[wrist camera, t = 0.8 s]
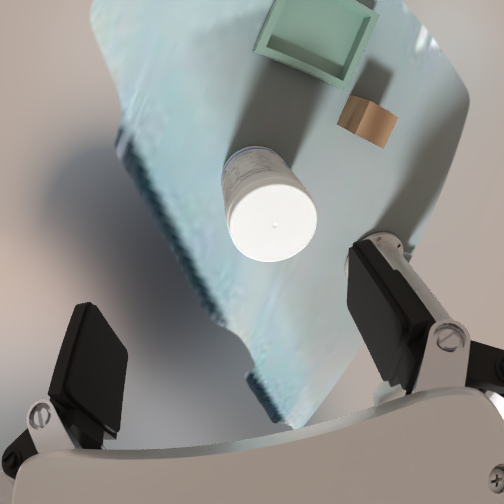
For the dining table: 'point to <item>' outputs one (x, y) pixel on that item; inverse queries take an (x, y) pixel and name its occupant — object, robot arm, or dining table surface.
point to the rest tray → (318, 37)
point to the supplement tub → (266, 205)
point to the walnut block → (367, 120)
